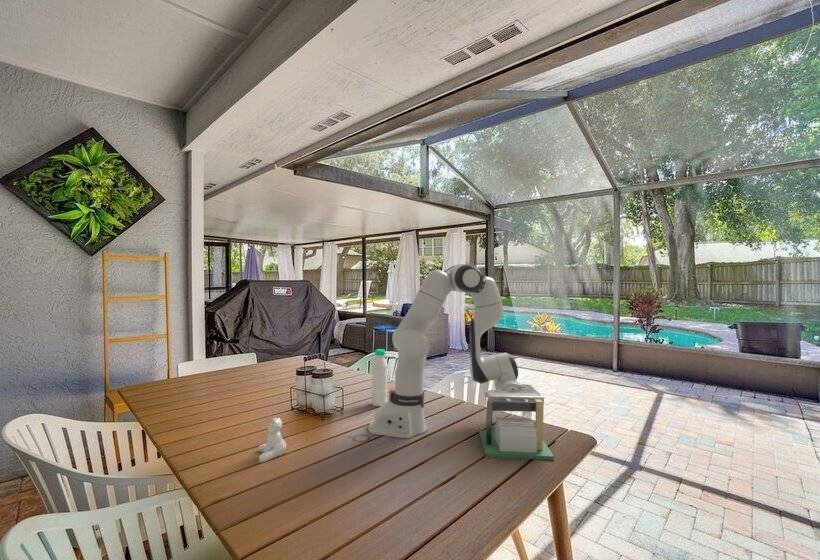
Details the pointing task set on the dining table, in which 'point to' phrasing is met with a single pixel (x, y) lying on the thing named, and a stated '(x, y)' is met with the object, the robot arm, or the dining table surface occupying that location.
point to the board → (504, 454)
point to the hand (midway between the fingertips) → (519, 406)
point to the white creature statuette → (273, 442)
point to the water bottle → (379, 379)
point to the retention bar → (504, 407)
